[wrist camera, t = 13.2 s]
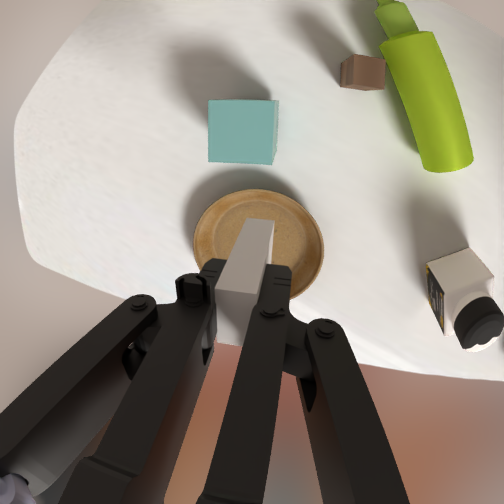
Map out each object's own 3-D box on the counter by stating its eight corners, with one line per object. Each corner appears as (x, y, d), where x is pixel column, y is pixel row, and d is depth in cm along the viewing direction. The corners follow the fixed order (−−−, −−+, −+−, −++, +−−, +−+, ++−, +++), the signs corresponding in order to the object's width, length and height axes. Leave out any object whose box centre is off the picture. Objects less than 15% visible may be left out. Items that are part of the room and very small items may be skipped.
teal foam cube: (278, 100, 27) (274, 101, 21) (276, 151, 29) (272, 165, 24) (226, 99, 27) (208, 100, 22) (225, 148, 30) (208, 161, 24)
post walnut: (366, 67, 24) (385, 59, 18) (365, 90, 26) (384, 89, 20) (341, 63, 25) (354, 53, 19) (340, 87, 26) (353, 84, 20)
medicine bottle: (424, 262, 34) (460, 325, 24) (470, 245, 32) (515, 301, 21) (428, 303, 37) (456, 367, 26) (470, 287, 35) (506, 345, 24)
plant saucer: (230, 158, 32) (225, 164, 29) (346, 223, 33) (350, 233, 31) (182, 260, 39) (175, 271, 37) (282, 310, 41) (281, 322, 38)
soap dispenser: (416, 179, 25) (331, -16, 17) (428, 155, 29) (358, -8, 21) (472, 174, 21) (386, -40, 13) (474, 150, 24) (404, -25, 16)
